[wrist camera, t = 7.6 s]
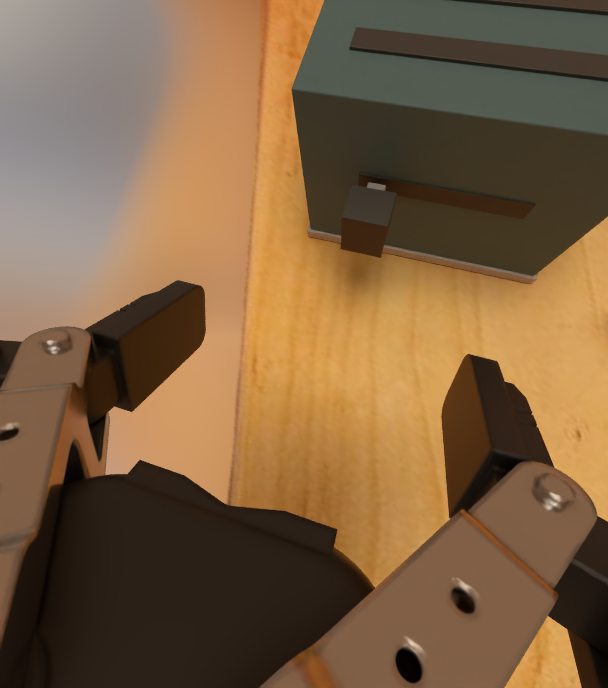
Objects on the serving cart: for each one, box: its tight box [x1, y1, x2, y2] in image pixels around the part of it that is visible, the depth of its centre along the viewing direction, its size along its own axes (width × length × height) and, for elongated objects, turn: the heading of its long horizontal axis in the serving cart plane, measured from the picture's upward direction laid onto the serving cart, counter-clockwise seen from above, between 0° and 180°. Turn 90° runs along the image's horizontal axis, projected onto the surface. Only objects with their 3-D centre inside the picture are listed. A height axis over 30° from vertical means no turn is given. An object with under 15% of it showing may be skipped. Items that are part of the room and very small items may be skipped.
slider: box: [341, 182, 397, 257], centre depth 19 cm, size 3×2×3 cm
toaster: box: [292, 0, 608, 284], centre depth 21 cm, size 10×16×12 cm, turn 74°
